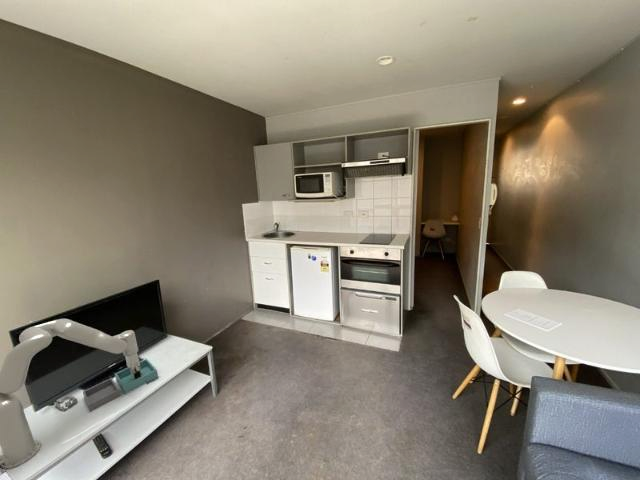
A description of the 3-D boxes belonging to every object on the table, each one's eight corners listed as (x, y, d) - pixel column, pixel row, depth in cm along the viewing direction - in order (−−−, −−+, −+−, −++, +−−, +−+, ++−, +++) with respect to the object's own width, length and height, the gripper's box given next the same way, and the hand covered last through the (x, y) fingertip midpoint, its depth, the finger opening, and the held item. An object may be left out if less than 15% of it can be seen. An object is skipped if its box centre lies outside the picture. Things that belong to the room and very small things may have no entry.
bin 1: (90, 413, 149) (88, 405, 148) (84, 398, 159) (82, 391, 158) (121, 396, 159) (119, 389, 158) (113, 384, 169) (111, 377, 168)
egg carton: (54, 408, 154) (52, 402, 153) (70, 398, 160) (68, 392, 159) (64, 414, 149) (62, 408, 148) (80, 403, 156) (78, 397, 155)
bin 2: (125, 395, 160) (123, 386, 159) (116, 382, 171) (114, 373, 170) (158, 377, 173) (156, 369, 172) (148, 366, 185) (146, 358, 183)
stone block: (133, 379, 169) (131, 371, 167) (131, 376, 171) (129, 368, 170) (141, 375, 172) (140, 367, 170) (139, 372, 175) (137, 364, 173)
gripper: (119, 348, 170) (125, 373, 174) (127, 358, 159) (134, 385, 163) (133, 342, 176) (138, 367, 180) (142, 352, 165) (148, 378, 169)
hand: (136, 375), depth 172 cm, fingers closed on stone block, 4 cm apart
